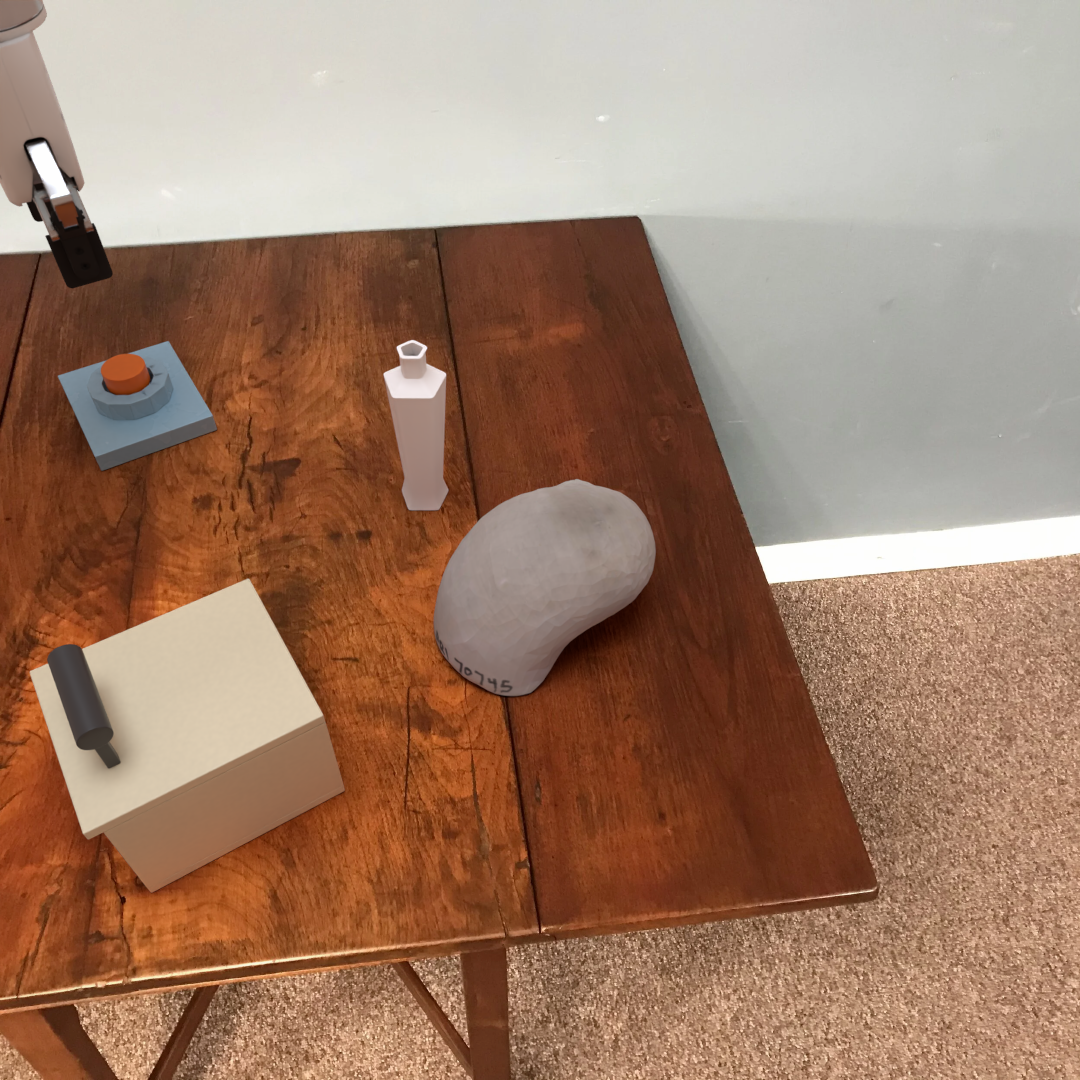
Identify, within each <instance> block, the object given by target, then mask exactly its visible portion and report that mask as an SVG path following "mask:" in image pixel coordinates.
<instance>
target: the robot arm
mask: <svg viewBox="0 0 1080 1080" xmlns="http://www.w3.org/2000/svg"><path fill="white" fill-rule="evenodd" d="M47 17H48V12H47V9H46V6H45V4H44V0H0V186H1V188H2V191H3V192H4V194H5V196H6V198H7V200H8V201H9V202H10V203H11V204H12V205H14V206H17V207H18V208H19V207H23V206H24V205H23V204H25V203H26V206H27V208H28V210H29V212H30V215H31V216H32V217H31V218H32V219H33V220H34V221H35V222H38V223H41V222H43V224H44V226H45V228H46V231H47V233H48V234H47V235H45V236H44V237H45V239H46V241H47V244H48V246H49V248H50V251H51V253H52V255H53V257H54V260H55V263H56V265H57V267H58V269H59V272H60V275H61V276H62V279H63V281H64V283H65V285H66V287H67V288H68V289H76V288H80V287H83V286H86V285H90V284H94V283H97V282H100V281H104V280H108V279H110V278H111V277H112V276H113V275H114V272H113V269H112V267H111V264H110V261H109V259H108V256H107V254H106V250H105V248H104V245H103V242H102V240H101V237H100V235H99V232H98V229H97V227H96V224H95V223H94V222H92V221H91V219H90V216H89V214H88V212H87V210H86V207H85V205H84V203H83V200H82V197H81V196H80V194H79V192H81V191H82V189H83V188H84V186H85V180H84V176H83V173H82V168H81V166H80V162H79V160H78V156H77V153H76V151H75V150H76V149H75V147H74V143H73V141H72V137H71V134H70V132H69V129H68V126H67V122H66V119H65V117H64V114H63V110H62V108H61V105H60V103H59V102H60V101H59V99H58V97H57V94H56V91H55V88H54V86H53V83H52V80H51V77H50V74H49V71H48V69H47V66H46V64H45V61H44V57H43V56H42V55H43V54H42V52H41V50H40V47H39V45H38V41H37V40H36V36H35V34H34V31H35V30H36V29H38V28H39V27H41V25H43V24H44V23H45V21H46V18H47Z"/></svg>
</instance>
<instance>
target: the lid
mask: <svg viewBox="0 0 1080 1080" xmlns="http://www.w3.org/2000/svg"><path fill="white" fill-rule="evenodd" d="M46 662H47V663H45V664H43V665H40V666H39V667H36V668H34V669H32V670H29V675H30V678H31V681H32V685H33V687H34V691H35V693H36V697H37V700H38V703H39V706H40V708H41V712H42V715H43V718H44V721H45V724H46V727H47V729H48V733H49V736H50V738H51V742H52V745H53V749H54V751H55V754H56V757H57V760H58V764H59V766H60V770H61V772H62V775H63V778H64V781H65V784H66V788H67V791H68V794H69V796H70V799H71V803H72V806H73V808H74V812H75V814H76V818H77V821H78V823H79V827H80V830H81V833H82V835H83V836H84V837H85V838H86V839H87V840H91V839H93V838H95V837H97V836H99V835H101V834H104V833H103V832H105V831H107V830H109V829H111V828H113V827H115V826H117V825H119V824H121V823H123V822H125V821H127V820H129V819H131V818H133V817H135V816H137V815H139V814H141V813H143V812H145V811H147V810H149V809H151V808H153V807H155V806H157V805H159V804H161V803H163V802H165V801H167V800H169V799H171V798H173V797H175V796H177V795H179V794H181V793H183V792H185V791H187V790H189V789H191V788H193V787H195V786H197V785H199V784H201V783H203V782H205V781H207V780H209V779H211V778H213V777H215V776H217V775H219V774H221V773H223V772H225V771H227V770H229V769H231V768H233V767H236V766H238V765H240V764H242V763H244V762H246V761H248V760H250V759H252V758H254V757H256V756H258V755H260V754H262V753H264V752H266V751H268V750H270V749H272V748H274V747H276V746H278V745H280V744H282V743H284V742H286V741H288V740H290V739H292V738H294V737H296V736H298V735H300V734H302V733H304V732H306V731H308V730H310V729H312V728H314V727H316V726H318V725H320V724H322V723H324V722H326V718H325V716H324V714H323V713H324V712H323V711H322V709H321V707H320V705H319V704H318V702H317V700H316V698H315V696H314V695H313V693H312V691H311V689H310V687H309V686H308V684H307V682H306V680H305V678H304V676H303V675H302V673H301V670H300V669H299V667H298V665H297V664H296V661H295V660H294V658H293V656H292V654H291V653H290V651H289V649H288V647H287V645H286V643H285V641H284V639H283V638H282V636H281V634H280V632H279V630H278V629H277V627H276V625H275V623H274V621H273V619H272V617H271V616H270V614H269V612H268V610H267V609H266V606H265V605H264V603H263V601H262V599H261V597H260V596H259V593H258V592H257V590H256V588H255V586H254V584H253V583H252V580H251V579H250V578H246V579H243V580H241V581H239V582H236V583H234V584H232V585H230V586H227V587H225V588H222V589H220V590H218V591H215V592H213V593H211V594H208V595H206V596H203V597H201V598H199V599H197V600H194V601H191V602H189V603H186V604H184V605H182V606H180V607H177V608H175V609H173V610H171V611H168V612H166V613H163V614H161V615H159V616H155V617H154V618H152V619H151V618H150V619H149V620H147V621H144V622H141V623H140V624H136V625H135V626H133V627H130V628H128V629H126V630H123V631H121V632H119V633H115V634H114V635H111V636H109V637H107V638H105V639H102V640H100V641H97V642H95V643H93V644H90V645H88V646H86V647H83V648H82V647H81V646H80V645H78V644H75V643H68V644H67V643H66V644H63V645H60V646H57V647H55V648H54V649H52V650H51V651H50V652H49V654H48V655H47V659H46Z"/></svg>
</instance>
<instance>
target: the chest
mask: <svg viewBox="0 0 1080 1080" xmlns="http://www.w3.org/2000/svg"><path fill="white" fill-rule="evenodd" d="M345 791H346V789H345V785H344V782H343V778H342V775H341V771H340V767H339V764H338V760H337V756H336V754H335V750H334V747H333V742H332V740H331V735H330V733H329V729H328V725H327V722H326V721H325V722H324V723H322V724H320V725H318V726H316V727H314V728H312V729H310V730H308V731H306V732H304V733H302V734H300V735H298V736H296V737H294V738H292V739H290V740H288V741H286V742H284V743H282V744H280V745H278V746H276V747H274V748H272V749H270V750H268V751H266V752H264V753H262V754H260V755H258V756H256V757H254V758H252V759H250V760H248V761H246V762H244V763H242V764H240V765H238V766H236V767H233V768H231V769H229V770H227V771H225V772H223V773H221V774H219V775H217V776H215V777H213V778H211V779H209V780H207V781H205V782H203V783H201V784H199V785H197V786H195V787H193V788H191V789H189V790H187V791H185V792H183V793H181V794H179V795H177V796H175V797H173V798H171V799H169V800H167V801H165V802H163V803H161V804H159V805H157V806H155V807H153V808H151V809H149V810H147V811H145V812H143V813H141V814H139V815H137V816H135V817H133V818H131V819H129V820H127V821H125V822H123V823H121V824H119V825H117V826H115V827H113V828H111V829H109V830H107V831H105V832H103V833H102V834H104V836H105V837H106V838H107V839H108V840H109V842H110V843H111V845H112V846H113V847H114V848H115V849H116V850H117V852H118V853H119V854H120V856H121V857H122V859H124V861H125V862H126V863H127V865H128V866H129V867H130V869H131V870H132V871H133V872H134V874H135V875H136V876H137V877H138V879H139V880H140V881H141V882H142V884H143V885H144V886H145V888H146V889H147V890H148V891H149V893H152V894H153V893H155V892H156V891H158V890H159V889H162V888H164V887H165V886H168V885H170V884H171V883H173V882H175V881H177V880H179V879H181V878H182V877H185V876H186V875H188V874H190V873H192V872H194V871H196V870H198V869H200V868H202V867H203V866H205V865H208V864H209V863H211V862H213V861H215V860H217V859H219V858H221V857H222V856H224V855H226V854H229V853H230V852H232V851H234V850H236V849H238V848H239V847H241V846H243V845H244V844H247V843H249V842H250V841H253V840H254V839H256V838H258V837H260V836H262V835H264V834H266V833H268V832H270V831H272V830H273V829H275V828H277V827H279V826H281V825H284V824H285V823H286V822H289V821H290V820H293V819H294V818H296V817H298V816H300V815H302V814H304V813H305V812H308V811H309V810H311V809H313V808H315V807H317V806H319V805H321V804H323V803H325V802H327V801H329V800H330V799H332V798H334V797H336V796H338V795H339V794H341V793H343V792H345Z"/></svg>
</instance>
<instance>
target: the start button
mask: <svg viewBox="0 0 1080 1080" xmlns="http://www.w3.org/2000/svg"><path fill="white" fill-rule="evenodd" d="M106 360H107V361H106ZM106 360H105V361H106V362H105V363H104V364H103V365H102V367H101V374H102V377H103V379H104V381H105V384H106V386H107V389H108V390H109V391H110V392H111V393H112V394H115V395H131V394H134V393H137V392H140V391H142V390H143V389H144V388H145V387H147V386H148V385H149V383H150V375H149V372H148V370H147V367H146V364H145V361H144V360H143V359H142V358H141V357H140V356H138V355H135V354H128V353H121V354H117V355H114V356H112V357H109V358H108V359H106Z"/></svg>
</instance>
